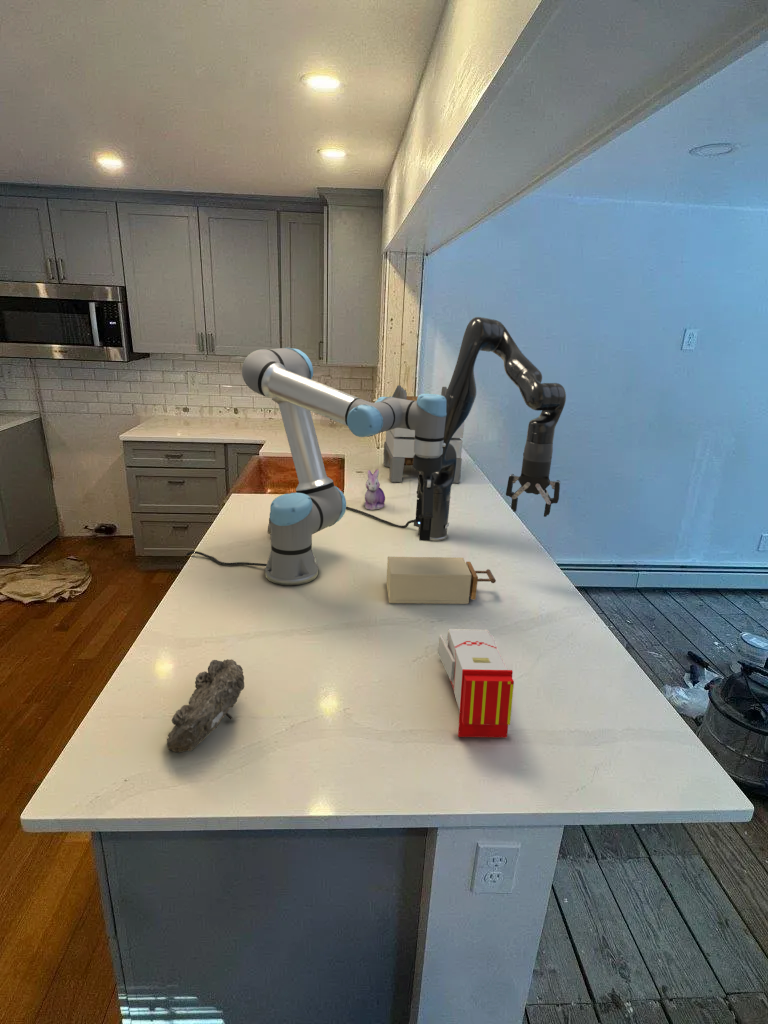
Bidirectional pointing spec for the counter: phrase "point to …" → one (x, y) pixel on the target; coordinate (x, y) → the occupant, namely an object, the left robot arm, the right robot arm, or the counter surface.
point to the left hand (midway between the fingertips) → (422, 530)
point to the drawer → (475, 578)
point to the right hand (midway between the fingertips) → (529, 513)
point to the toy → (478, 682)
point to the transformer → (412, 444)
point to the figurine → (374, 492)
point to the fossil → (206, 705)
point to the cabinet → (428, 580)
